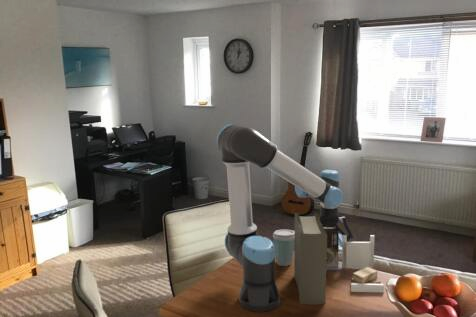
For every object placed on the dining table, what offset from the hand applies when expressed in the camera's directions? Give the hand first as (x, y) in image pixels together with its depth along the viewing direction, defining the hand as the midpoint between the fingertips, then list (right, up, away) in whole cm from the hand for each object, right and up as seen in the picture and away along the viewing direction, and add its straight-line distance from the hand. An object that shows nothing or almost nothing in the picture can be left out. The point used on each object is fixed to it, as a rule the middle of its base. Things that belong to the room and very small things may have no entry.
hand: (328, 252), depth 180 cm
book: (-12, -10, -19) cm, 25 cm away
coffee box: (0, -5, +1) cm, 5 cm away
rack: (+11, -8, -12) cm, 18 cm away
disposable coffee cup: (-19, -6, +4) cm, 20 cm away
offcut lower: (+11, -9, -18) cm, 23 cm away
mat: (0, -6, +1) cm, 6 cm away
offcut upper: (+11, -6, -17) cm, 21 cm away
